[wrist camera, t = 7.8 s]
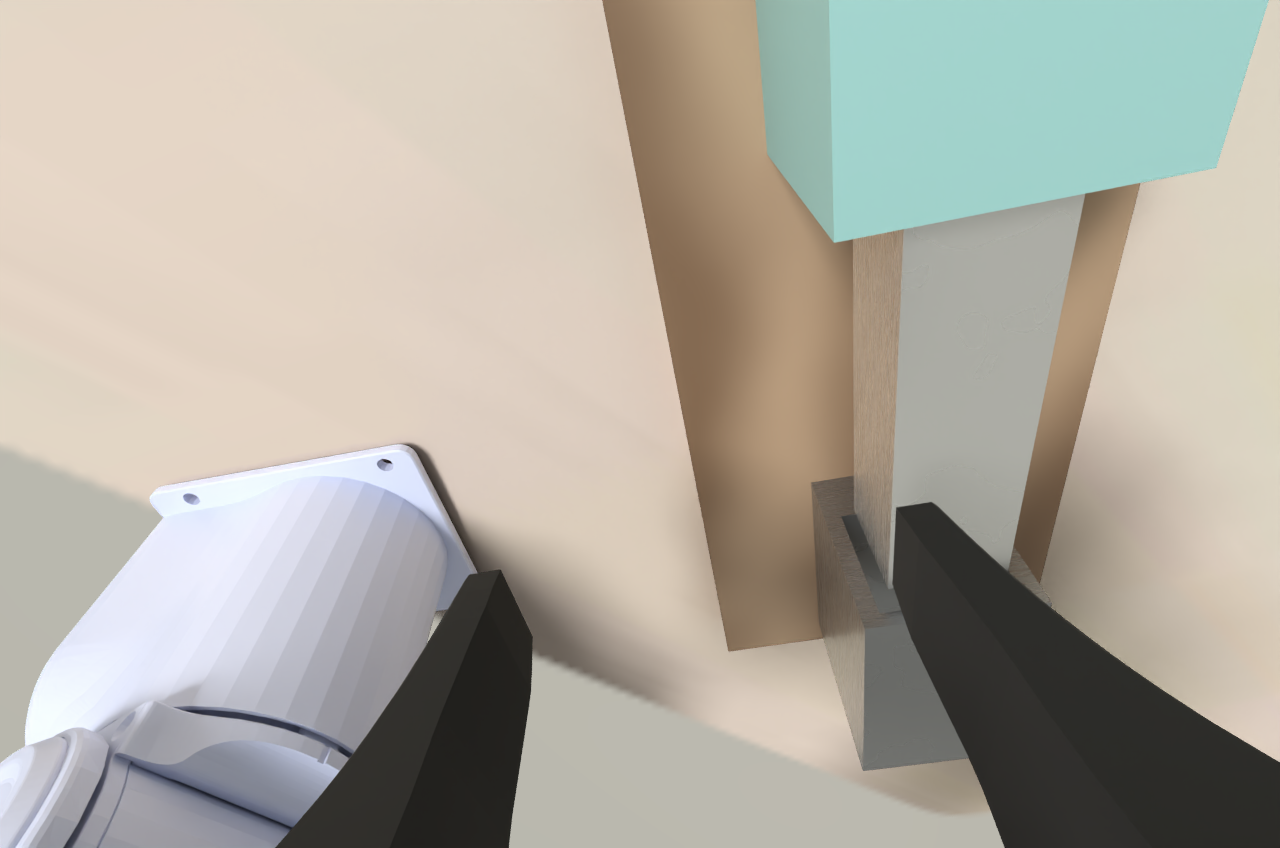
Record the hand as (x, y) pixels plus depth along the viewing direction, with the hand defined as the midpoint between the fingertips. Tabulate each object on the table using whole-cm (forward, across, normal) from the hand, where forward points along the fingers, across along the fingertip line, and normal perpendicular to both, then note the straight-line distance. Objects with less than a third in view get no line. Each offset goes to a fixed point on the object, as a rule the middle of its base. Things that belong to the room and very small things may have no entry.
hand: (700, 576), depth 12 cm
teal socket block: (+8, -6, -7) cm, 12 cm away
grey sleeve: (+8, -6, +9) cm, 14 cm away
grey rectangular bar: (+6, -6, -2) cm, 9 cm away
